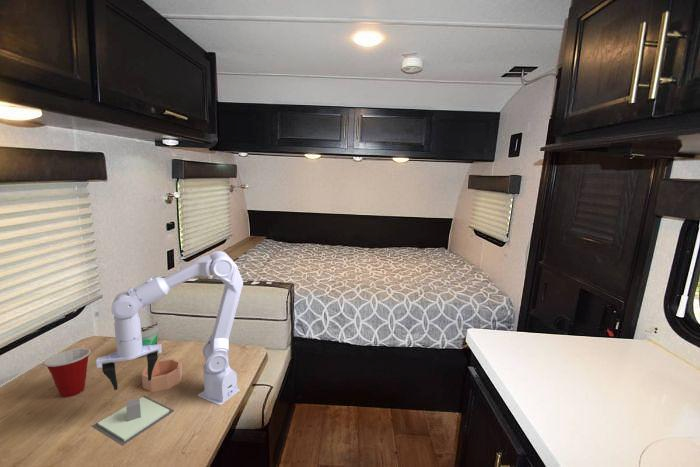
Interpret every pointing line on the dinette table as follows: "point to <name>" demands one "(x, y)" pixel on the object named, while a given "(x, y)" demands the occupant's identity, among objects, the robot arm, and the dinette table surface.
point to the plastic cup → (69, 370)
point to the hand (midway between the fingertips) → (133, 383)
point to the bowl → (163, 375)
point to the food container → (149, 335)
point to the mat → (136, 433)
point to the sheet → (133, 425)
